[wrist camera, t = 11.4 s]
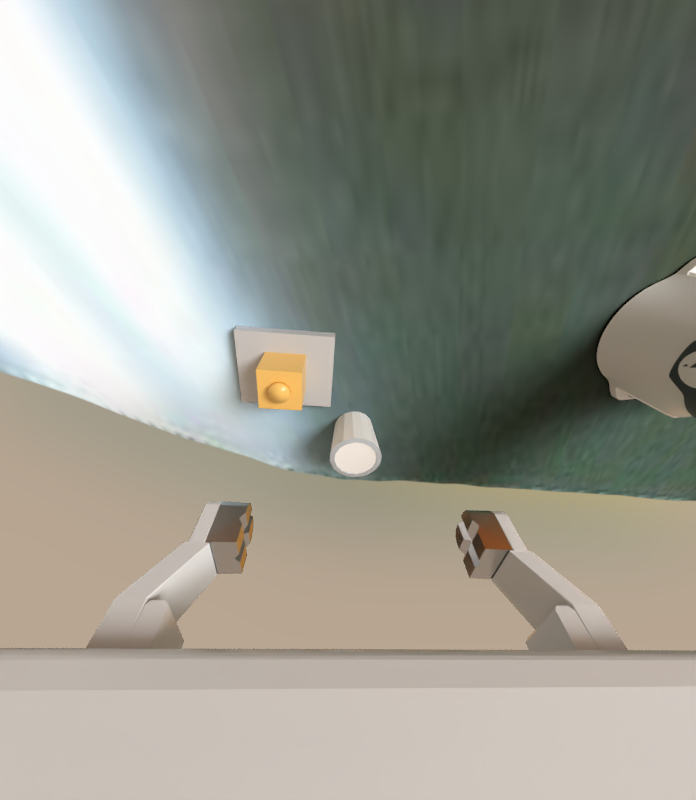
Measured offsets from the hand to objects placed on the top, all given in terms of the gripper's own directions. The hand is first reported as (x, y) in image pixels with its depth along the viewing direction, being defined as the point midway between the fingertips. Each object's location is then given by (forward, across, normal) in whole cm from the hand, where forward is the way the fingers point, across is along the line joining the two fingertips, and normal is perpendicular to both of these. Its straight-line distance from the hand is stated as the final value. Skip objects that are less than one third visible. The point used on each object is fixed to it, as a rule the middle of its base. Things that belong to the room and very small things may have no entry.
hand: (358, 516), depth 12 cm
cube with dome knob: (+28, +7, +8) cm, 30 cm away
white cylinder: (+29, -3, +17) cm, 34 cm away
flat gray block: (+29, +7, +8) cm, 31 cm away
